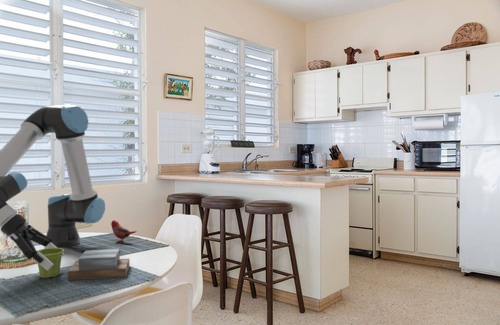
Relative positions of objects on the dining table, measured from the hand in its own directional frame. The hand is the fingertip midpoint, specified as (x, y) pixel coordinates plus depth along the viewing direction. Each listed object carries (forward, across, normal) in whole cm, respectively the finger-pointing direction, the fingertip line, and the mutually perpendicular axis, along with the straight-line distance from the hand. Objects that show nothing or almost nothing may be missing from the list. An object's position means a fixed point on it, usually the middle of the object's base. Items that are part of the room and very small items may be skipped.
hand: (56, 262), depth 144 cm
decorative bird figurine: (+16, -47, +9) cm, 51 cm away
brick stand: (+14, 0, +7) cm, 16 cm away
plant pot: (+2, 0, -5) cm, 5 cm away
